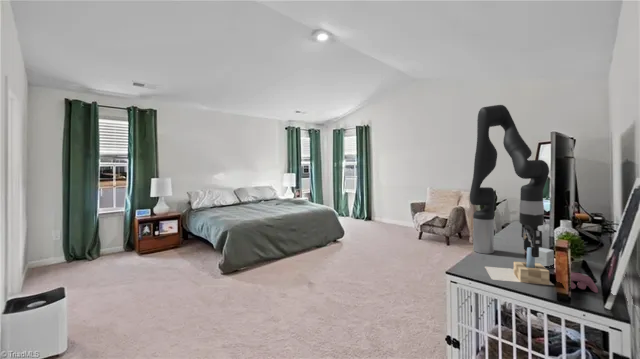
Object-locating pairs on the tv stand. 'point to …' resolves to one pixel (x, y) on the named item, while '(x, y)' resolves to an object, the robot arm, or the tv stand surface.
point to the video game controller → (582, 281)
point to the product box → (545, 257)
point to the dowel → (530, 259)
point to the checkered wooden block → (531, 273)
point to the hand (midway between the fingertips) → (531, 253)
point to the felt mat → (503, 274)
